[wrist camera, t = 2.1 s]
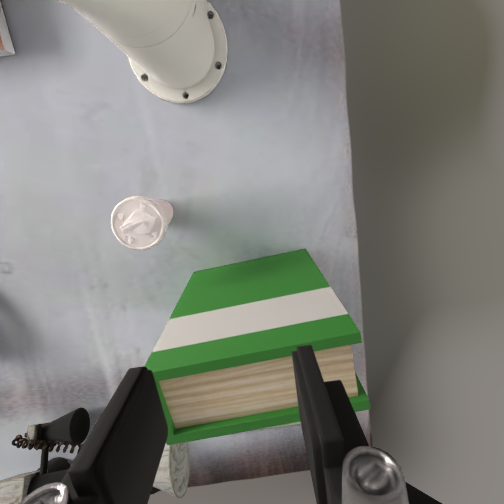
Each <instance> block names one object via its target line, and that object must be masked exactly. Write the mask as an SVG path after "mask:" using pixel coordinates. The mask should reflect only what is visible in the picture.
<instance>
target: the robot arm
mask: <svg viewBox="0 0 504 504" xmlns="http://www.w3.org/2000/svg"><path fill="white" fill-rule="evenodd" d="M58 1H60V2H62V3H64V4H67V5H68V6H70V7H72V8H73V9H75V10H76V11H77V12H79V13H80V14H81V15H83V16H84V17H85V18H86V19H87V20H88V21H90V22H91V23H92V24H93V25H94V26H95V27H97V28H98V29H99V30H100V31H101V32H102V33H103V34H104V35H105V36H106V37H107V38H109V39H110V40H111V41H112V42H113V43H114V44H115V45H116V46H118V47H119V48H120V49H121V50H122V51H123V52H124V53H125V54H127V55H128V58H129V61H130V64H131V67H132V69H133V71H134V73H135V75H136V76H137V78H138V79H139V81H140V82H141V83H142V85H144V86H145V87H146V88H147V89H148V90H149V91H150V92H151V93H153V94H154V95H155V96H157V97H159V98H161V99H163V100H165V101H168V102H171V103H179V104H185V103H192V102H195V101H198V100H200V99H202V98H203V97H205V96H207V95H208V94H209V93H210V92H211V91H212V90H214V88H215V87H216V86H217V84H218V83H219V82H220V80H221V78H222V76H223V74H224V71H225V67H226V64H227V55H228V47H227V38H226V33H225V30H224V27H223V24H222V21H221V19H220V18H219V16H218V14H217V12H216V11H215V9H214V8H213V7H212V6H211V4H210V3H209V2H208V1H207V0H58ZM210 16H212V17H213V18H212V19H209V17H210ZM217 66H221V68H220V69H217ZM146 77H148V80H147V81H145V78H146ZM186 95H189V97H188V98H185V96H186ZM292 360H293V368H294V376H295V384H296V391H297V399H298V407H299V414H300V420H301V425H302V431H303V436H304V441H305V446H306V451H307V456H308V461H309V466H310V471H311V476H312V481H313V486H314V492H315V497H316V502H317V504H442V503H440V502H438V501H437V500H435V499H433V498H431V497H430V496H428V495H427V494H425V493H423V492H422V491H420V490H418V489H417V488H415V487H413V486H411V485H410V484H408V483H406V482H405V478H404V475H403V472H402V469H401V467H400V466H399V464H398V463H397V461H396V460H395V459H394V458H393V457H392V456H391V455H389V454H388V453H387V452H385V451H383V450H381V449H379V448H375V447H372V446H369V445H368V442H367V440H366V438H365V435H364V433H363V431H362V428H361V426H360V424H359V421H358V419H357V416H356V414H355V412H354V409H353V407H352V405H351V402H350V400H349V397H348V395H347V393H346V390H345V388H344V386H343V383H342V381H341V380H334V381H326V382H324V380H323V377H322V374H321V371H320V368H319V365H318V362H317V360H316V357H315V354H314V351H313V348H312V345H305V346H298V347H297V351H292ZM167 437H168V425H167V422H166V418H165V415H164V411H163V408H162V404H161V400H160V397H159V393H158V390H157V386H156V382H155V379H154V375H153V372H152V370H148V369H147V367H137V368H130V369H129V370H128V371H127V373H126V375H125V376H124V378H123V380H122V381H121V383H120V385H119V387H118V388H117V390H116V392H115V393H114V395H113V397H112V398H111V400H110V402H109V403H108V405H107V407H106V408H105V410H104V412H103V413H102V414H101V416H100V417H99V419H98V421H97V422H96V424H95V426H94V427H93V429H92V431H91V432H90V434H89V436H88V437H87V439H86V441H85V442H84V444H83V446H82V448H81V449H80V451H79V453H78V454H77V456H76V458H75V459H74V461H73V463H72V464H71V466H70V468H69V469H68V471H67V473H66V474H65V476H64V478H63V479H62V481H61V483H57V482H54V483H50V484H46V485H44V486H42V487H40V488H38V489H36V490H35V491H33V492H32V493H30V494H29V495H27V496H26V497H25V498H24V499H23V500H22V501H21V502H20V503H19V504H147V503H148V499H149V497H150V493H151V490H152V487H153V483H154V480H155V477H156V473H157V470H158V467H159V464H160V460H161V457H162V454H163V450H164V447H165V444H166V440H167Z"/></svg>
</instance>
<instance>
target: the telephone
mask: <svg viewBox="0 0 504 504" xmlns="http://www.w3.org/2000/svg"><path fill="white" fill-rule="evenodd" d="M89 427H90V418H89V414H88V412H87V410H86V409H84V408H79V409H77V410H75V411H73V412H71V413H69V414H67V415H65V416H63V417H61V418H59V419H57V420H55V421H53V422H51V423H45V424H37V425H31V426H28V432H27V433H25V436H24V437H25V438H22V436H21V435H17V436H16V438H15V439H14V440H13V441H12V445H14V446H17V448H20V447H21V446H22V448H26V447H28V449H29V450H31V449H32V448H33V447H34V448H35V449H36V450H38V449H42V454H41V466H40V468H39V469H38V470H37V471H33V472H29V473H24V474H20V475H17V476H14V477H10V478H7V479H4V480H1V481H0V504H19V503H20V502H21V501H22V500H23V499H24V498H25V497H26V496H27V495H29V494H30V493H32V492H33V491H35V490H36V489H38V488H40V487H42V486H44V485H46V484H50V483H54V482H57V483H61V481H62V479H63V478H64V476H65V474H66V473H67V471H68V469H69V468H70V464H69V462H68V461H67V460H65V459H64V458H54V459H52V460H50V461H48V453H49V452H51V451H52V450H53V448H54V446H55V445H56V444H58V447H57V448H56V452H59V450H60V446H61V445H62V444H64V445H65V447H64V449H63V453H65V452H66V449H67V448H68V445H69V444H70V445H72V448H71V450H70V453H73V452H74V448H75V446H76V445H78V446H79V450H78V452H77V454H78V453H79V451H80V449H81V448H82V446H83V444H82V445H81V443H82V442H83V441H84V440H85V439H86V437H87V435H88V432H89ZM26 438H27V439H26ZM15 441H17V444H16V443H15ZM24 441H25V442H24ZM23 442H24V443H23ZM59 442H61V443H59ZM19 443H21V444H20V445H19ZM67 443H69V444H67ZM22 444H23V445H22ZM25 444H26V445H25ZM49 447H50V448H49ZM189 472H190V457H189V447H188V442H184V443H178V444H172V445H167V444H165V447H164V450H163V454H162V457H161V460H160V464H159V467H158V470H157V473H156V477H155V480H154V483H153V487H152V490H151V493H150V494H154V493H156V492H158V491H160V490H162V491H164V492H166V493H169V494H171V495H173V496H175V497H178V498H182V497H183V496H184V494H185V493H186V490H187V486H188V481H189Z"/></svg>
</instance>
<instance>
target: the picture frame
mask: <svg viewBox="0 0 504 504" xmlns="http://www.w3.org/2000/svg"><path fill="white" fill-rule="evenodd" d="M8 55H15V52H14V48H13V44H12V41H11V37H10V34H9V30H8V27H7V23H6V19H5V16H4V12H3V9H2V5H1V2H0V56H8Z"/></svg>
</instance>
